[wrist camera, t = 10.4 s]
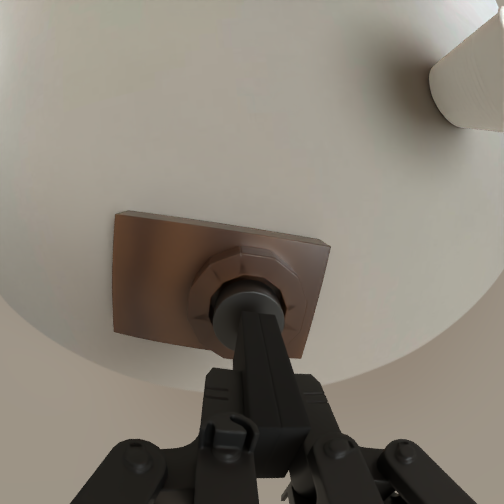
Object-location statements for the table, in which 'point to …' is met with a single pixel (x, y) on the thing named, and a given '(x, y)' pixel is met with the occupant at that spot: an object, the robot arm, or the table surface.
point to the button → (243, 308)
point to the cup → (473, 79)
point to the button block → (207, 277)
